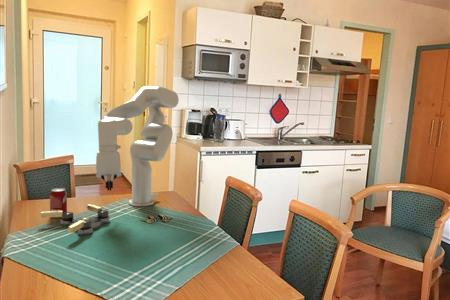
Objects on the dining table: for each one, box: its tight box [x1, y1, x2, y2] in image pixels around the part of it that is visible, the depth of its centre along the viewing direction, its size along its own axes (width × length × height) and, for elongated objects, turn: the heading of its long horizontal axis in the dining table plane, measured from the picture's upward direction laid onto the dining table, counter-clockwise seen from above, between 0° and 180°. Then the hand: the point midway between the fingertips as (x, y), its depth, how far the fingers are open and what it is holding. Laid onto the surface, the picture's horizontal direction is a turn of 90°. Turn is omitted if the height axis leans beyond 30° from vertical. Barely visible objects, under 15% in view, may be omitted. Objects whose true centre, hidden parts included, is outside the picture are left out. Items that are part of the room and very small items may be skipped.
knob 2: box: [85, 203, 109, 219], centre depth 164 cm, size 13×4×4 cm, turn 55°
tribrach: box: [60, 215, 110, 236], centre depth 157 cm, size 17×19×3 cm
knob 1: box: [67, 220, 91, 234], centre depth 144 cm, size 13×4×4 cm, turn 169°
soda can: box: [49, 187, 68, 219], centre depth 166 cm, size 7×7×12 cm
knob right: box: [38, 210, 74, 221], centre depth 155 cm, size 13×4×4 cm, turn 109°
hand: (109, 189), depth 167 cm, fingers closed
